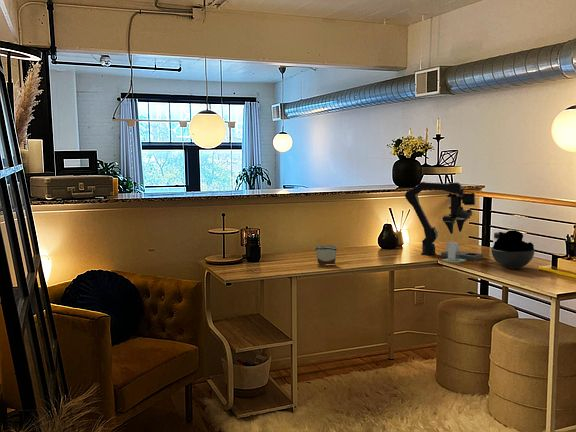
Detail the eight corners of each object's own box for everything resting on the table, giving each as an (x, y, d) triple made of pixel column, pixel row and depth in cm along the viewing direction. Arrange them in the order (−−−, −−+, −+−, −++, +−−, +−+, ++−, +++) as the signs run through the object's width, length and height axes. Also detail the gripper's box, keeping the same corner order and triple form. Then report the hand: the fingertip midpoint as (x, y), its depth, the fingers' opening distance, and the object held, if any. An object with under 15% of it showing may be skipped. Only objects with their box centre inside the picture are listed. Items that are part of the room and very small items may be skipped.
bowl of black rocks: (530, 264, 287) (530, 228, 285) (538, 273, 267) (538, 233, 265) (488, 264, 291) (488, 228, 289) (493, 272, 272) (493, 233, 270)
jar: (502, 256, 312) (503, 234, 310) (490, 254, 318) (490, 233, 317) (512, 254, 317) (513, 233, 315) (500, 252, 323) (500, 231, 322)
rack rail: (440, 257, 315) (440, 252, 315) (450, 254, 322) (450, 250, 322) (473, 261, 301) (473, 256, 300) (483, 258, 307) (483, 253, 307)
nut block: (447, 260, 304) (447, 245, 303) (452, 258, 307) (452, 244, 306) (455, 260, 301) (455, 246, 300) (459, 259, 304) (459, 245, 303)
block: (446, 256, 316) (446, 242, 315) (450, 255, 319) (450, 241, 318) (453, 257, 313) (453, 243, 312) (457, 256, 316) (457, 242, 315)
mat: (441, 260, 305) (441, 259, 305) (449, 258, 310) (449, 257, 310) (458, 262, 298) (458, 262, 298) (466, 260, 303) (466, 259, 303)
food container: (340, 263, 306) (339, 245, 305) (337, 265, 300) (337, 247, 299) (318, 262, 310) (318, 244, 309) (315, 265, 304) (314, 246, 303)
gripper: (460, 207, 303) (460, 235, 305) (477, 204, 316) (477, 231, 318) (441, 206, 311) (442, 234, 313) (459, 203, 324) (459, 230, 326)
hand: (455, 232), depth 317 cm, fingers open, 9 cm apart
